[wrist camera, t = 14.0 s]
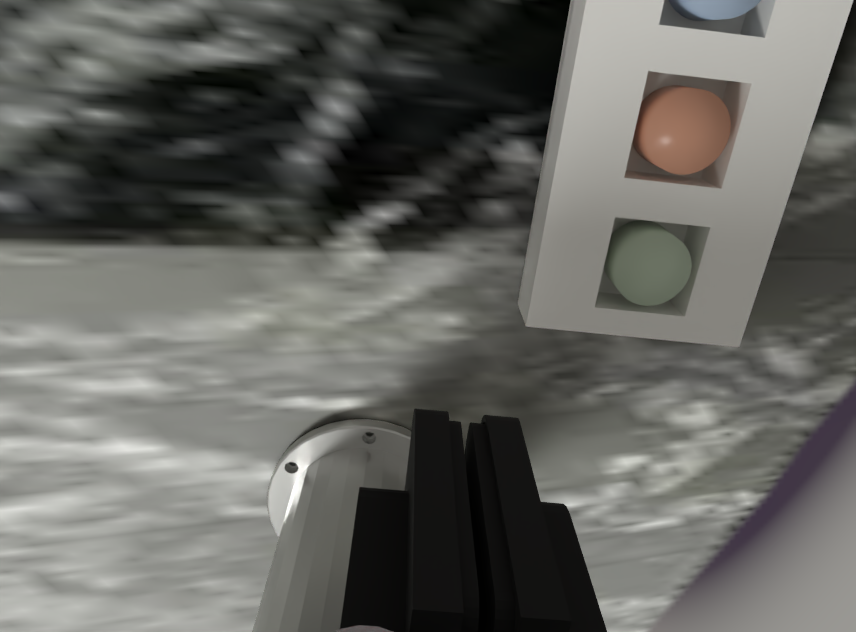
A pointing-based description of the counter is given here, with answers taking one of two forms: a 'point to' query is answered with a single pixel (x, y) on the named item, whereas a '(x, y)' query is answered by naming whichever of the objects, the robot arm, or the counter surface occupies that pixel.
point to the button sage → (647, 263)
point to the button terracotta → (681, 129)
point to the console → (663, 191)
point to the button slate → (712, 8)
